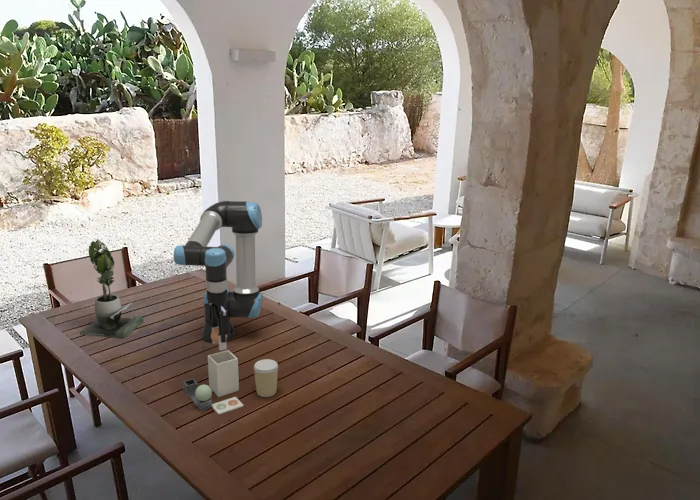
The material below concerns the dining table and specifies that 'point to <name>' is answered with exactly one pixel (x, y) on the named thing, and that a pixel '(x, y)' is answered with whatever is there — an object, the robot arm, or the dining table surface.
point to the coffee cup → (266, 377)
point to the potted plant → (108, 300)
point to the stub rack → (190, 389)
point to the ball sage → (203, 392)
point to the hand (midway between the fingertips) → (219, 345)
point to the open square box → (223, 373)
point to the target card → (227, 405)
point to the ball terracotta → (215, 335)
